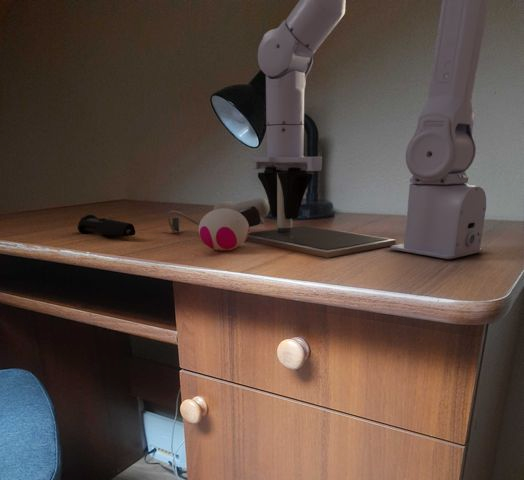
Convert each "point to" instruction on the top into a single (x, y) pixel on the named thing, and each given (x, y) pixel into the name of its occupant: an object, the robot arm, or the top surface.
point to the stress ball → (223, 229)
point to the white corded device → (249, 209)
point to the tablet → (319, 241)
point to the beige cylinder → (281, 211)
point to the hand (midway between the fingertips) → (284, 217)
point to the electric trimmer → (105, 227)
